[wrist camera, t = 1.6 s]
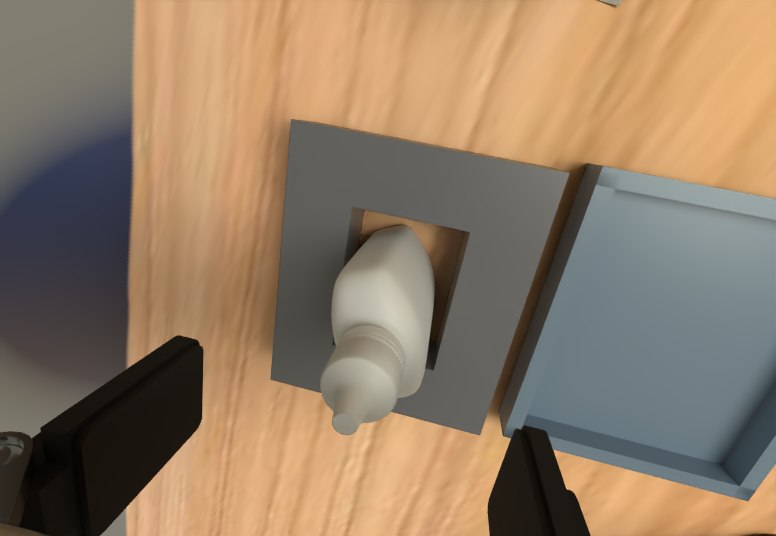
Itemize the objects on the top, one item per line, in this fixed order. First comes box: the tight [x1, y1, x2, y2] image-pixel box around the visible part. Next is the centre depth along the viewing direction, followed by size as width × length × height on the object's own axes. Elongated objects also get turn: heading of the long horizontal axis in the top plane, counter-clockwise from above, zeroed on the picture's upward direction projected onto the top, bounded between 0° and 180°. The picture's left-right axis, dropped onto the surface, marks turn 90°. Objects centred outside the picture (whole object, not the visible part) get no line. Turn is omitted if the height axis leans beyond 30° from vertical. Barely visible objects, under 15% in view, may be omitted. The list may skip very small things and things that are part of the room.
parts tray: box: [499, 163, 776, 501], centre depth 19 cm, size 15×13×2 cm
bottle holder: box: [271, 119, 570, 435], centre depth 20 cm, size 14×12×3 cm
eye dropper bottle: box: [320, 225, 435, 435], centre depth 15 cm, size 4×6×12 cm
